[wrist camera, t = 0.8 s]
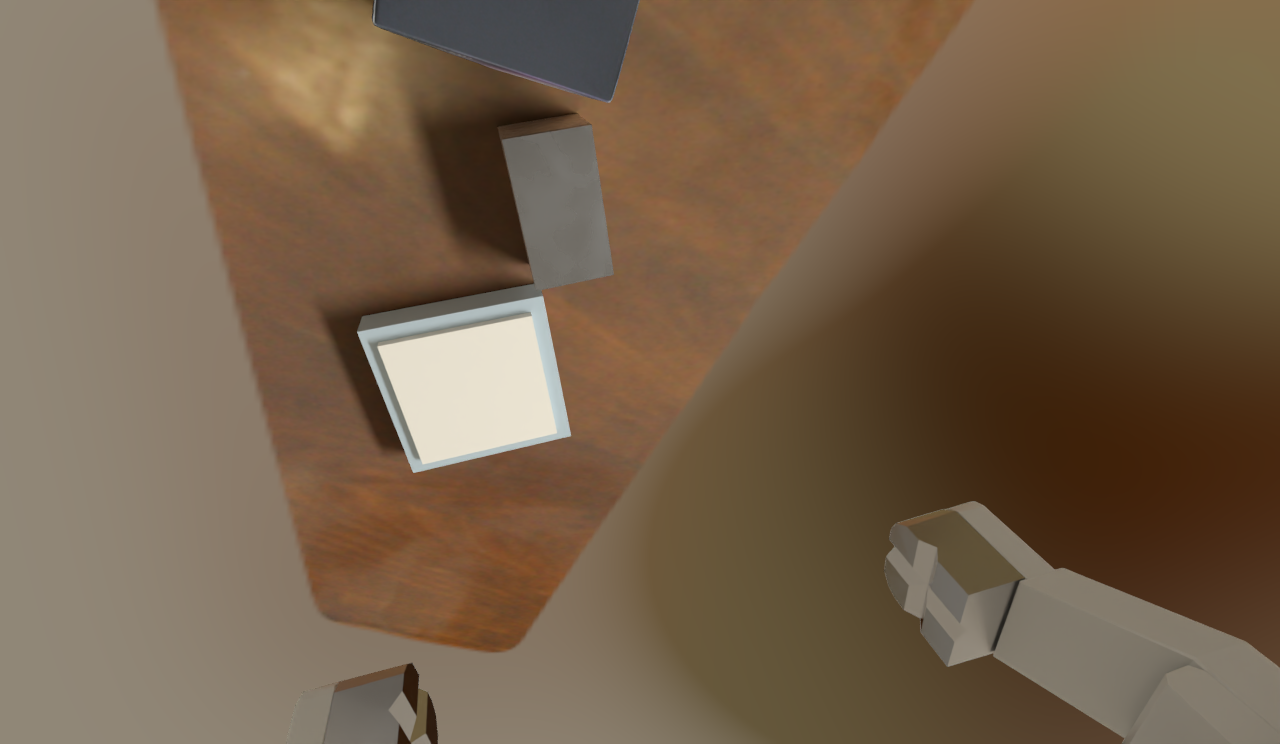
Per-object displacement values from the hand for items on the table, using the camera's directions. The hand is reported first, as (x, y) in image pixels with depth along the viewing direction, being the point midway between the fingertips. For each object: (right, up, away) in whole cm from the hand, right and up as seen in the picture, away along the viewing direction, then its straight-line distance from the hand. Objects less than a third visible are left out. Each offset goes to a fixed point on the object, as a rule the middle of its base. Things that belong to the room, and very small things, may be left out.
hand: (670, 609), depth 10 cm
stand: (-13, +4, +34) cm, 37 cm away
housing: (-6, +16, +29) cm, 34 cm away
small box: (-8, +25, +23) cm, 35 cm away
